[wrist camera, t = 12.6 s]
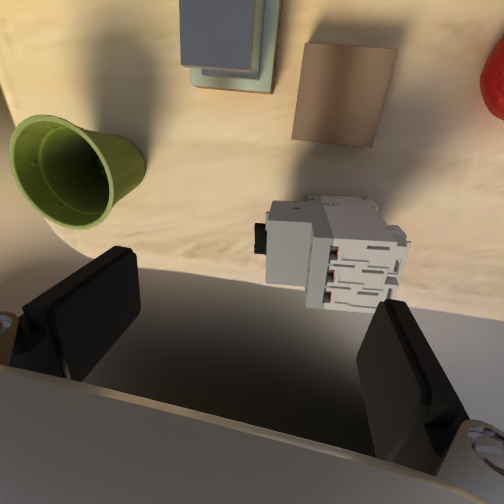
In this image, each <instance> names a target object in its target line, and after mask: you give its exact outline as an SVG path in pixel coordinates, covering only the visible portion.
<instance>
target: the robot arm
mask: <svg viewBox="0 0 504 504" xmlns="http://www.w3.org/2000/svg"><path fill="white" fill-rule="evenodd" d="M22 309H23V311H24V314H23V315H21V316H20V317H18V316H17V315H16V314H15V313H12V312H9V311H0V504H504V432H503V431H501V430H499V429H498V428H496V427H494V426H493V425H491V424H488V423H486V422H483V421H480V420H474V419H470V418H469V417H468V415H467V413H466V411H465V409H464V407H463V405H462V403H461V401H460V400H459V398H458V396H457V394H456V392H455V390H454V389H453V387H452V385H451V383H450V381H449V380H448V378H447V376H446V374H445V372H444V371H443V369H442V367H441V365H440V363H439V362H438V360H437V358H436V356H435V355H434V353H433V351H432V349H431V347H430V346H429V344H428V342H427V340H426V338H425V337H424V335H423V333H422V331H421V330H420V328H419V326H418V324H417V322H416V320H415V319H414V317H413V315H412V313H411V311H410V310H409V308H408V306H407V304H406V303H405V302H403V301H398V300H393V299H388V298H387V299H386V300H385V301H384V302H383V301H380V302H379V304H378V306H377V308H376V311H375V313H374V316H373V318H372V320H371V323H370V325H369V327H368V330H367V332H366V335H365V337H364V339H363V342H362V344H361V347H360V349H359V351H358V354H357V359H356V361H357V362H356V363H357V369H358V373H359V378H360V383H361V387H362V392H363V396H364V401H365V406H366V411H367V415H368V420H369V425H370V429H371V434H372V438H373V443H374V447H375V452H376V457H377V458H373V457H370V456H366V455H363V454H359V453H356V452H352V451H348V450H345V449H341V448H338V447H334V446H330V445H326V444H322V443H318V442H314V441H311V440H306V439H303V438H299V437H295V436H291V435H287V434H284V433H280V432H276V431H272V430H268V429H264V428H260V427H256V426H252V425H249V424H245V423H241V422H237V421H233V420H229V419H225V418H221V417H217V416H213V415H209V414H206V413H202V412H198V411H194V410H190V409H185V408H182V407H178V406H174V405H170V404H166V403H162V402H158V401H153V400H150V399H146V398H142V397H138V396H134V395H130V394H126V393H122V392H118V391H114V390H110V389H106V388H101V387H97V386H93V385H89V384H85V383H81V382H82V381H83V380H84V379H85V377H86V376H87V375H88V374H89V373H90V372H91V370H92V369H93V368H94V367H95V366H96V364H97V363H98V362H99V361H100V360H101V359H102V357H103V356H104V355H105V354H106V353H107V352H108V350H109V349H110V348H111V347H112V346H113V345H114V343H115V342H116V341H117V340H118V338H119V337H120V336H121V335H122V334H123V333H124V332H125V330H126V329H127V328H128V327H129V326H130V325H131V323H132V322H133V321H134V320H135V319H136V318H137V316H138V315H139V313H140V309H141V302H140V291H139V280H138V267H137V256H136V254H135V253H133V251H132V249H131V248H127V247H121V246H114V247H112V248H111V249H109V250H108V251H106V252H105V253H103V254H102V255H100V256H99V257H97V258H96V259H94V260H93V261H91V262H90V263H88V264H87V265H85V266H83V267H82V268H80V269H79V270H77V271H76V272H74V273H73V274H71V275H70V276H68V277H67V278H65V279H64V280H62V281H61V282H59V283H58V284H57V285H55V286H53V287H52V288H51V289H49V290H47V291H46V292H44V293H43V294H41V295H40V296H38V297H37V298H35V299H34V300H32V301H31V302H29V303H28V304H26V305H24V306H23V307H22Z"/></svg>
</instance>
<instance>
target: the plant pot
mask: <svg viewBox="0 0 504 504" xmlns="http://www.w3.org/2000/svg"><path fill="white" fill-rule="evenodd" d="M9 163H10V168H11V171H12V174H13V177H14V179H15V181H16V184H17V186H18V188H19V189H20V191H21V192H22V194H23V195H24V197H25V198H26V200H27V201H28V202H29V203H30V204H31V205H32V207H34V209H35V210H37V211H38V212H39V213H40V214H42V215H43V216H44V217H45V218H47V219H48V220H50V221H52V222H53V223H55V224H58V225H60V226H62V227H65V228H69V229H74V230H85V229H90V228H92V227H95V226H97V225H99V224H100V223H101V222H103V221H104V220H105V218H106V217H107V216H108V214H109V213H110V211H111V208H112V207H113V206H114V205H115V203H116V202H118V201H119V200H120V199H122V198H123V197H124V196H125V195H127V194H128V193H129V192H130V191H132V190H133V189H134V188H136V187H137V186H138V185H139V184H140V183H141V182H142V180H143V178H144V175H145V163H144V159H143V157H142V155H141V154H140V152H139V150H138V149H137V147H136V146H135V145H134V144H133V143H132V142H131V141H129V140H127V139H126V138H123V137H119V136H114V135H109V134H104V133H100V132H94V131H89V130H85V129H83V128H80V127H78V126H76V125H74V124H72V123H71V122H69V121H67V120H65V119H62V118H59V117H56V116H51V115H36V116H32V117H29V118H27V119H25V120H24V121H22V122H21V123H20V124H19V125H18V126H17V127H16V129H15V130H14V132H13V134H12V136H11V139H10V143H9Z"/></svg>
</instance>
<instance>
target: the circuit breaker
mask: <svg viewBox="0 0 504 504" xmlns="http://www.w3.org/2000/svg"><path fill="white" fill-rule="evenodd" d="M379 209H380V206H379V205H378V204H377V203H376V202H375V201H374V200H371V197H367V199H366V200H365V199H361V197H360V196H334V195H307V202H296V201H273V202H272V205H271V209H270V212H266V224H263V223H255V228H254V229H255V245H254V254H265V255H266V283H269V284H281V285H293V286H304V287H305V295H306V307H309V308H319V309H330V310H342V311H352V312H363V313H375V311H376V308H377V306H378V304H379V302H380V301H383V302H384V301H385V300H386V299H387V298H388V299H393V300H395V297H396V294H397V290H398V287H399V284H398V282H397V279H396V277H401V276H402V273H403V269H404V266H405V262H406V259H407V255H408V252H409V248H410V245H411V242H410V241H406V237H407V235H406V234H405V233H404V232H403V231H402V229H401V228H400V227H399V226H398V225H387V224H386V222H385V221H384V220H383V219H382V218H381V217H380V216H379V214H378V213H379ZM398 260H400V263H398ZM391 288H392V289H391Z"/></svg>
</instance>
